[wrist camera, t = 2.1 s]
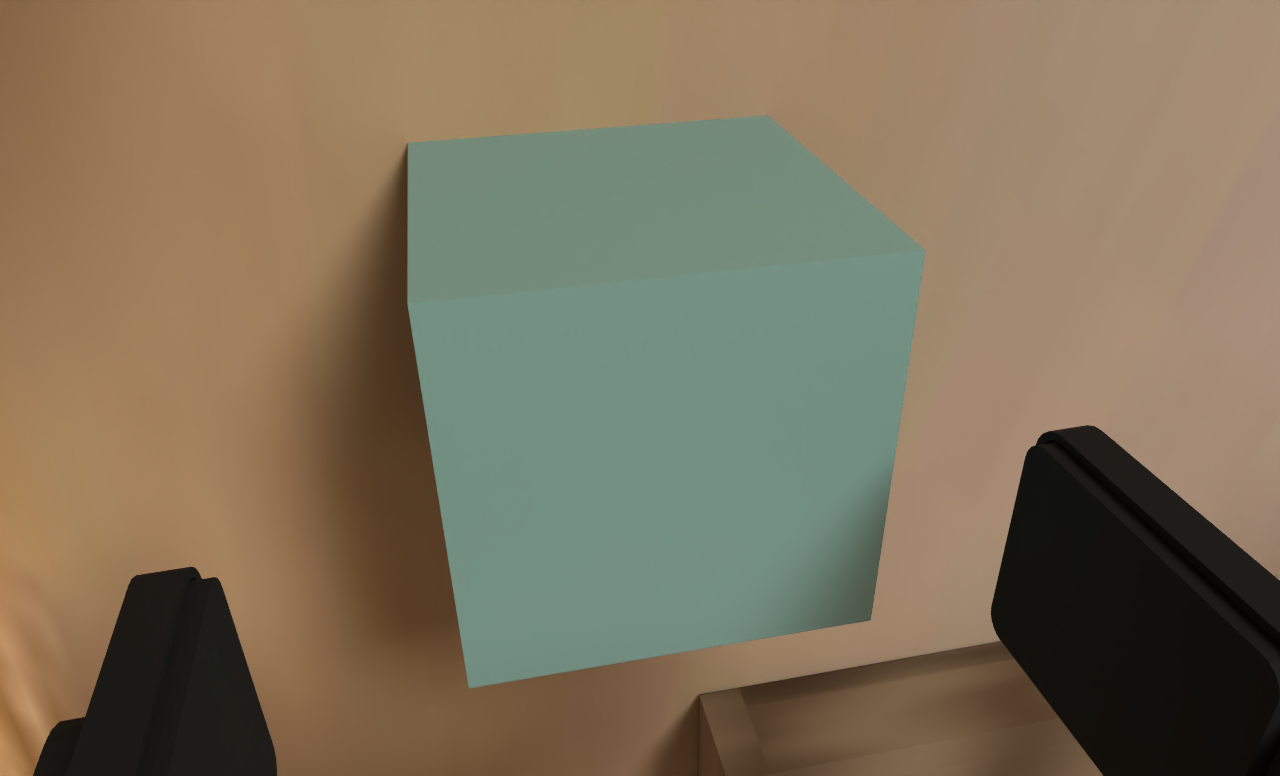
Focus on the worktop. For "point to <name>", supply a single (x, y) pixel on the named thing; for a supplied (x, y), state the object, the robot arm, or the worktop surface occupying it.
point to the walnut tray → (892, 722)
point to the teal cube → (654, 387)
